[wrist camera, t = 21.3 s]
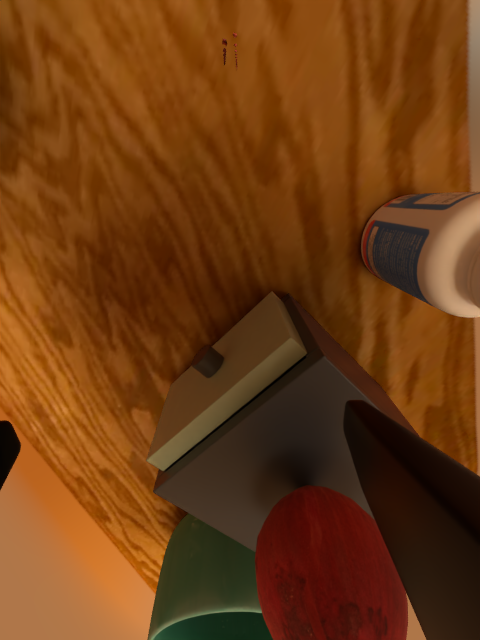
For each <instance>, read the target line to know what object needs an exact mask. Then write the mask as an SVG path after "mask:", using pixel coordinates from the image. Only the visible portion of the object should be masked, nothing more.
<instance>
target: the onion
mask: <svg viewBox="0 0 480 640" xmlns="http://www.w3.org/2000/svg"><path fill="white" fill-rule="evenodd" d="M255 569H256V581H257V592H258V599H259V603H260V606H261V610H262V614H263V617H264V620H265V622H266V625H267V627H268V629H269V631H270V634H271V636H272V638H273V640H406V635H407V626H408V603H407V598H406V591H405V588H404V586H403V584H402V582H401V579H400V577H399V575H398V572H397V570H396V568H395V565H394V563H393V561H392V558H391V556H390V554H389V551H388V549H387V547H386V544H385V542H384V540H383V538H382V535H381V533H380V531H379V528H378V526H377V524H376V521H375V520H374V519H373V518H372V517H371V516H370V515H369V514H368V513H367V512H366V511H364V510H363V509H362V508H361V507H360V506H359V505H358V504H357V503H356V502H355V501H354V500H353V499H351V498H349V497H347V496H345V495H343V494H341V493H339V492H337V491H334V490H332V489H329V488H327V487H322V486H311V485H305V486H302V487H300V488H298V489H296V490H294V491H293V492H291V493H289V494H288V495H286V496H285V497H283V498H281V499H280V500H279V501H278V503H277V504H276V505H275V506H274V507H273V508H272V510H271V511H270V513H269V515H268V516H267V518H266V520H265V522H264V524H263V526H262V528H261V530H260V532H259V535H258V537H257V545H256V554H255Z"/></svg>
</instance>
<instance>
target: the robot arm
mask: <svg viewBox="0 0 480 640" xmlns="http://www.w3.org/2000/svg"><path fill="white" fill-rule="evenodd" d="M343 430H344V434H345V437H346V441H347V444H348V447H349V450H350V453H351V456H352V460H353V463H354V466H355V469H356V472H357V475H358V479H359V482H360V485H361V488H362V491H363V493H364V496H365V498H366V500H367V503H368V505H369V507H370V510H371V512H372V514H373V517H374V519H375V521H376V524H377V526H378V528H379V531H380V533H381V535H382V538H383V540H384V542H385V544H386V547H387V549H388V551H389V554H390V556H391V558H392V561H393V563H394V565H395V568H396V570H397V572H398V575H399V577H400V579H401V582H402V584H403V586H404V588H405V591H406V593H407V595H408V597H409V600H410V602H411V605H412V607H413V609H414V612H415V614H416V616H417V618H418V621H419V623H420V625H421V627H422V630H423V632H424V635H425V637H426V639H427V640H480V477H479V476H478V475H477V474H475V473H474V472H472V471H471V470H469V469H468V468H466V467H464V466H463V465H461V464H460V463H458V462H457V461H455V460H454V459H452V458H451V457H449V456H448V455H446V454H445V453H443V452H442V451H440V450H439V449H437V448H436V447H434V446H433V445H431V444H429V443H428V442H426V441H425V440H423V439H422V438H420V437H419V436H417V435H416V434H414V433H413V432H411V431H410V430H408V429H407V428H405V427H404V426H402V425H401V424H399V423H398V422H396V421H394V420H393V419H391V418H390V417H388V416H387V415H385V414H384V413H382V412H381V411H379V410H378V409H376V408H375V407H373V406H372V405H370V404H369V403H367V402H366V401H364V400H360V399H359V400H348V401H347V402H346V404H345V411H344V420H343ZM20 448H21V444H20V441H19V439H18V437H17V434H16V432H15V430H14V428H13V426H12V424H11V423H10V422H9V421H0V490H1V488H2V486H3V484H4V482H5V480H6V478H7V476H8V474H9V472H10V470H11V468H12V466H13V464H14V462H15V460H16V458H17V456H18V454H19V452H20Z"/></svg>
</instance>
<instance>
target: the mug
mask: <svg viewBox="0 0 480 640" xmlns="http://www.w3.org/2000/svg"><path fill="white" fill-rule="evenodd" d="M255 554H256V552H254V551H253V550H251V549H249V548H247V547H246V546H244V545H242V544H241V543H239V542H237V541H236V540H234V539H232V538H230V537H229V536H227V535H225V534H224V533H222V532H220V531H218V530H217V529H215V528H213V527H212V526H210V525H208V524H206V523H205V522H203V521H201V520H200V519H198V518H196V517H194V516H193V515H191V514H189V513H188V514H187V515H186V516H185V517H184V518H183V519H182V520H181V521H180V523H179V524H178V525H177V527H176V528H175V530H174V532H173V534H172V536H171V538H170V540H169V543H168V545H167V549H166V552H165V556H164V560H163V564H162V568H161V572H160V577H159V581H158V586H157V591H156V596H155V602H154V607H153V612H152V617H151V623H150V629H149V634H148V640H273V638H272V636H271V634H270V631H269V629H268V627H267V625H266V622H265V620H264V617H263V614H262V610H261V606H260V603H259V599H258V592H257V581H256V569H255Z"/></svg>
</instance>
